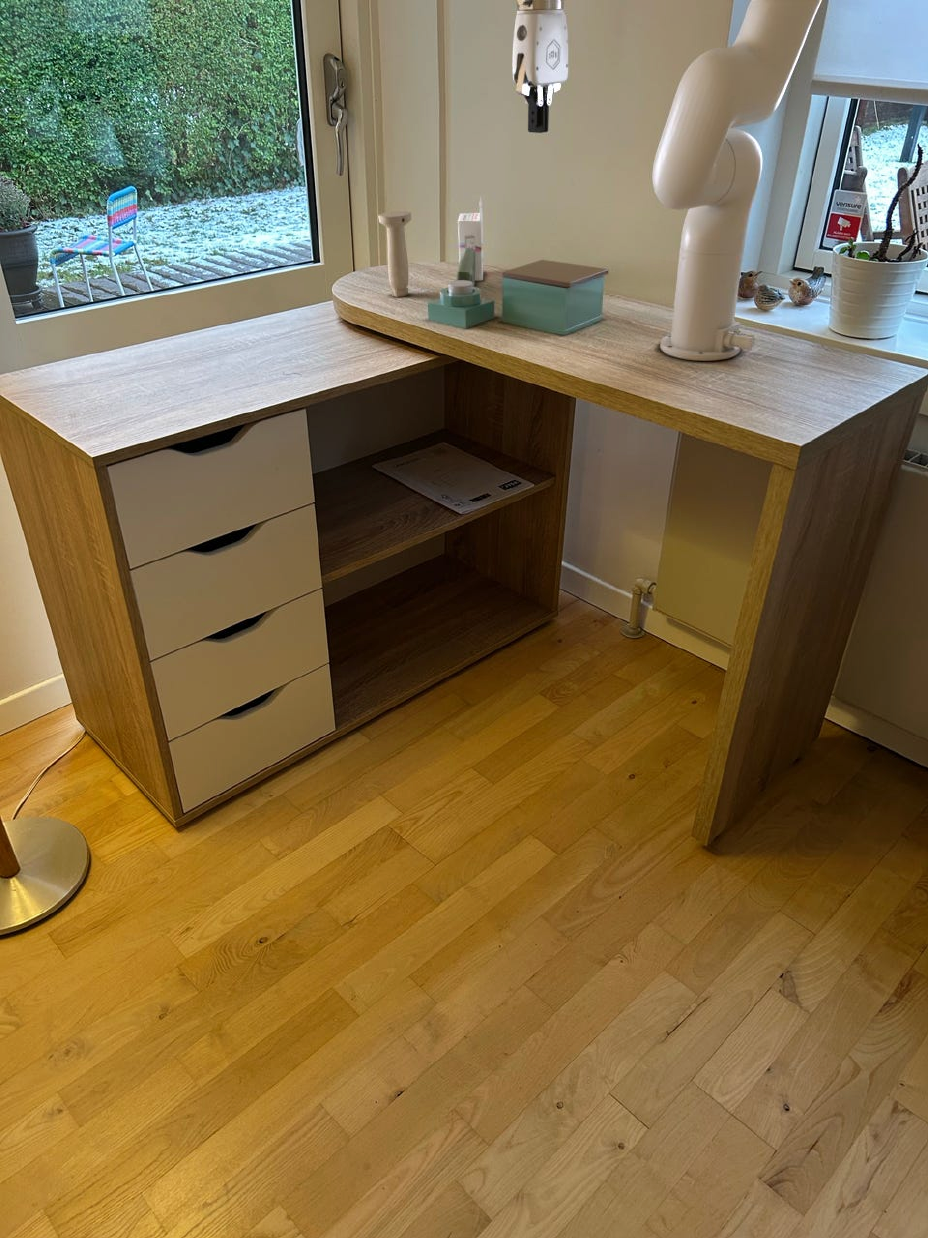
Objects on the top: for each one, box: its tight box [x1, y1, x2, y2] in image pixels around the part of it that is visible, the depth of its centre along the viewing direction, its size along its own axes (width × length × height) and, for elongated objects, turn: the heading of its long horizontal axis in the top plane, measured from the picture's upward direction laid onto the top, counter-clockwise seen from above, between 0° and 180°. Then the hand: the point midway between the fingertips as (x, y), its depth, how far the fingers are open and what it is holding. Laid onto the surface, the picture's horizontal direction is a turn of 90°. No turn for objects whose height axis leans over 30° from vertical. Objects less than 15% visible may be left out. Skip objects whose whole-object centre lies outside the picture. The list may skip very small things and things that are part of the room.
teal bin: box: [501, 275, 605, 336], centre depth 161 cm, size 14×12×8 cm
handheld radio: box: [456, 248, 476, 287], centre depth 180 cm, size 7×3×25 cm
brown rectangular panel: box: [502, 259, 609, 288], centre depth 158 cm, size 14×12×1 cm
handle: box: [377, 210, 412, 298], centre depth 177 cm, size 5×6×15 cm
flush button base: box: [427, 286, 495, 329], centre depth 164 cm, size 9×8×5 cm
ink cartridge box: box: [457, 197, 484, 282], centre depth 188 cm, size 9×5×15 cm, turn 177°
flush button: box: [447, 279, 473, 295], centre depth 163 cm, size 4×4×2 cm
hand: (538, 131), depth 156 cm, fingers closed
